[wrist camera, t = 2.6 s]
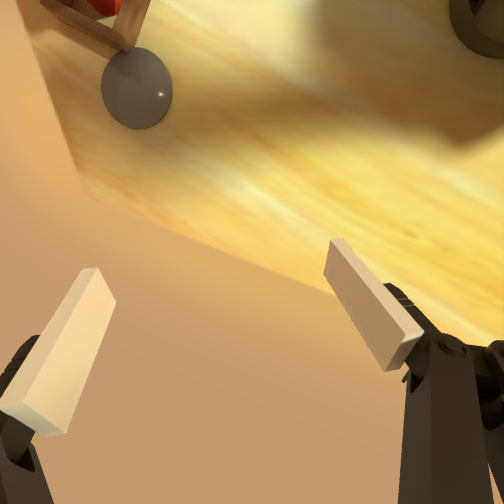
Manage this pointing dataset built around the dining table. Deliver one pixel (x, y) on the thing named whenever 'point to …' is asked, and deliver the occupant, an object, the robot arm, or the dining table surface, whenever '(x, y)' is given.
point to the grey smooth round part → (136, 88)
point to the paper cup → (106, 6)
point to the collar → (118, 37)
